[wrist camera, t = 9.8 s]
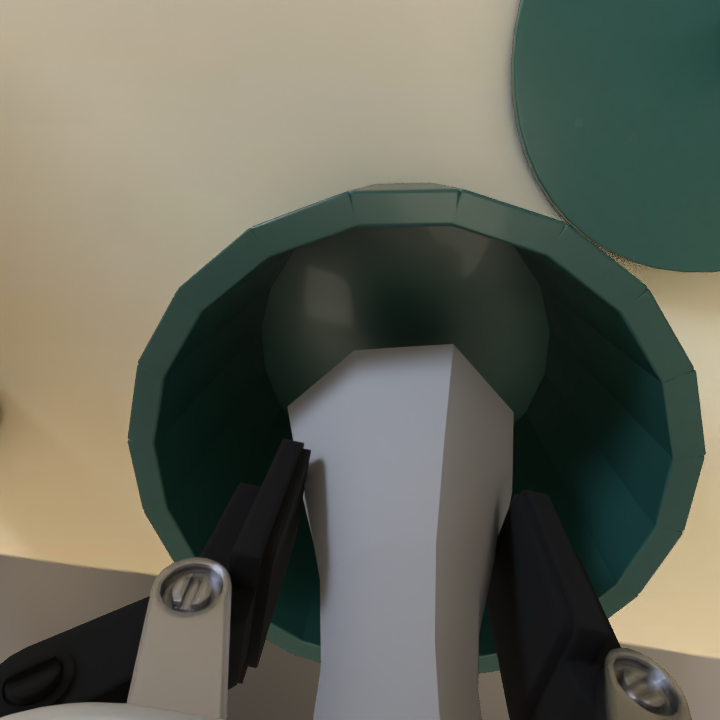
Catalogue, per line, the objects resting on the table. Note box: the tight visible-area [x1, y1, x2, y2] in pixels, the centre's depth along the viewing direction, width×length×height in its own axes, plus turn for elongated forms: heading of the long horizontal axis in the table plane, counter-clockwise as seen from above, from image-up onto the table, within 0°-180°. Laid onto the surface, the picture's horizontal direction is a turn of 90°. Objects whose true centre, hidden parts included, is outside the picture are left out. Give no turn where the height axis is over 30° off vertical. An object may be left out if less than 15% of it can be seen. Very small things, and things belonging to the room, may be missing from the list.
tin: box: [128, 183, 706, 674], centre depth 19 cm, size 16×16×12 cm
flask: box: [288, 344, 514, 720], centre depth 11 cm, size 7×7×10 cm
